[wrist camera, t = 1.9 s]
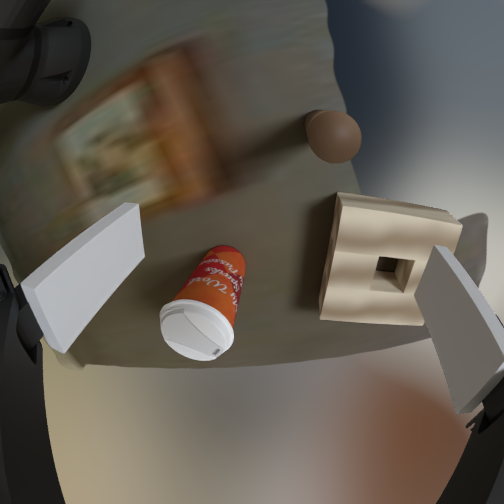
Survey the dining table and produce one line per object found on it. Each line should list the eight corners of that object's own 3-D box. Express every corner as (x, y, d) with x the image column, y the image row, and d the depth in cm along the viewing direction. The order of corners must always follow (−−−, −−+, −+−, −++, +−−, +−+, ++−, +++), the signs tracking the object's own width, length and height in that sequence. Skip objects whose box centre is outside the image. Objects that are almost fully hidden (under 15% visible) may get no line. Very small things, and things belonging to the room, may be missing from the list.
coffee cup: (265, 260, 39) (246, 339, 26) (234, 295, 43) (208, 372, 30) (215, 225, 38) (171, 293, 25) (188, 265, 42) (145, 335, 29)
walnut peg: (305, 108, 29) (309, 107, 16) (335, 111, 28) (363, 115, 15) (303, 137, 30) (306, 160, 17) (332, 140, 30) (358, 166, 17)
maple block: (337, 191, 33) (342, 205, 29) (446, 210, 31) (462, 225, 27) (318, 296, 41) (319, 319, 37) (413, 304, 39) (422, 325, 35)
